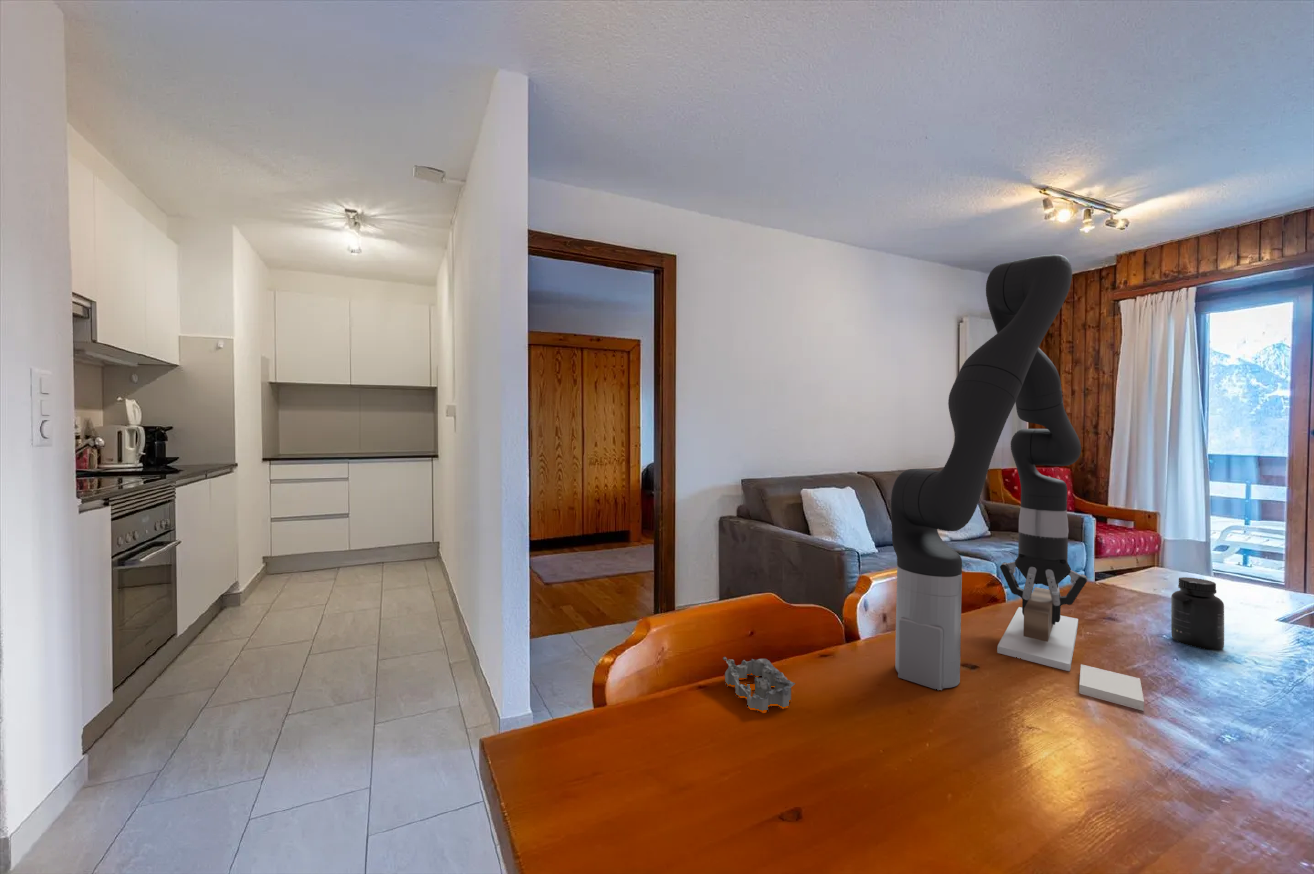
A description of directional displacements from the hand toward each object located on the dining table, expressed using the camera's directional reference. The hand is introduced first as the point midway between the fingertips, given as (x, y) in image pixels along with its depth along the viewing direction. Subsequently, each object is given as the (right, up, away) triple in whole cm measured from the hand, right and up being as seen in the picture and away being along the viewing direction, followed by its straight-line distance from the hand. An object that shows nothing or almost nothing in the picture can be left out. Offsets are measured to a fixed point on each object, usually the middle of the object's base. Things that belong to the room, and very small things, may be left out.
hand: (1041, 620), depth 95 cm
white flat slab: (-2, -3, -16) cm, 16 cm away
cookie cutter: (-59, -3, -22) cm, 63 cm away
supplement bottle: (+28, -4, -2) cm, 29 cm away
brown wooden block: (0, -1, 0) cm, 1 cm away
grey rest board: (0, -3, 0) cm, 3 cm away
